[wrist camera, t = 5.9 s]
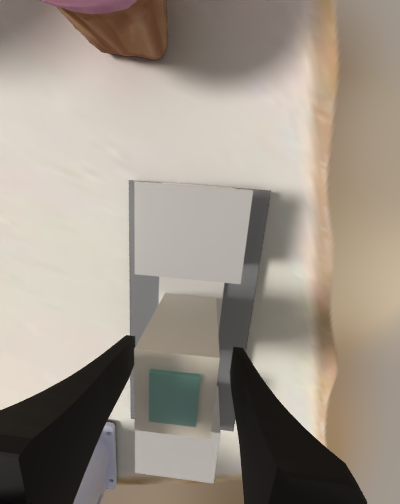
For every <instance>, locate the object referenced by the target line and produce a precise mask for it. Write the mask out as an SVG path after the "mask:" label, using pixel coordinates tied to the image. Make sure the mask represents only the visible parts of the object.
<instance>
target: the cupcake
mask: <svg viewBox="0 0 400 504" xmlns="http://www.w3.org/2000/svg"><path fill="white" fill-rule="evenodd" d="M41 1H43V2H45V3H47V4H50V5H53V6H56V7H57V8H58V9H59V10H60V11H61V13H62V14H63V15H64V16H65V17H66V18H67V19H68V20H69V21H70V22H71V23H72V24H73V26H74V27H75V28H76V29H77V30H78V31H79V32H80V33H81V34H82V35H83V36H84V37H85V38H86V39H87V40H88V41H89V42H90V43H91V44H92V45H94V46H95V47H96V48H97V49H99V50H100V51H101V52H104V53H110V54H118V55H123V56H140V57H143V58H147V59H153V60H155V59H159V58H161V57H162V56H163V55H164V53H165V52H166V49H167V43H168V33H167V0H41Z"/></svg>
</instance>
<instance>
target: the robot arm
mask: <svg viewBox="0 0 400 504" xmlns="http://www.w3.org/2000/svg"><path fill="white" fill-rule="evenodd" d="M134 348H135V336H129V335H126V336H125V337H123V338H122V339H121V340H120V341H118V342H117V343H116V344H115V345H113V346H112V347H111V348H110V349H108V350H107V351H106V352H104V353H103V354H102V355H101V356H99V357H98V358H96V359H95V360H94V361H92V362H91V363H89V364H88V365H87V366H85V367H84V368H82V369H81V370H79V371H78V372H76V373H74V374H73V375H71V376H70V377H68V378H66V379H65V380H63V381H61V382H59V383H57V384H55V385H54V386H52V387H50V388H48V389H46V390H44V391H42V392H40V393H38V394H36V395H34V396H32V397H30V398H28V399H26V400H24V401H21V402H19V403H17V404H15V405H12V406H10V407H8V408H5V409H3V410H0V504H101V502H102V499H103V496H104V494H105V491H106V489H115V487H116V485H117V466H116V435H115V425H114V424H113V423H111V422H107V420H108V418H109V416H110V414H111V412H112V410H113V408H114V406H115V404H116V402H117V400H118V399H119V397H120V395H121V393H122V391H123V389H124V387H125V385H126V383H127V381H128V379H129V377H130V374H131V372H132V369H133V367H134ZM230 384H231V394H232V400H233V406H234V412H235V418H236V424H237V430H238V437H239V445H240V456H241V467H242V479H243V492H244V504H367V501H366V499H365V497H364V495H363V493H362V491H361V490H360V488H359V486H358V484H357V482H356V480H355V478H354V477H353V475H352V474H351V472H350V470H349V469H348V467H347V465H346V464H345V463H344V462H343V461H342V460H340V459H339V458H338V457H337V456H336V455H334V454H333V453H332V452H331V451H329V450H328V449H327V448H326V447H325V446H324V445H323V444H321V443H320V442H319V441H318V440H317V439H316V438H315V437H314V436H313V435H312V434H310V433H309V432H308V431H307V430H306V429H305V428H304V427H303V426H302V425H301V424H300V423H299V422H298V421H297V420H296V419H295V418H294V417H293V416H292V415H291V414H290V413H289V412H288V410H287V409H286V408H285V407H284V406H283V405H282V404H281V402H280V401H279V400H278V399H277V398H276V396H275V395H274V394H273V393H272V391H271V390H270V389H269V387H268V386H267V385H266V383H265V382H264V380H263V379H262V378H261V376H260V375H259V373H258V372H257V370H256V369H255V367H254V365H253V364H252V362H251V361H250V359H249V357H248V356H247V354H246V352H245V350H244V349H243V348H241V347H233V353H232V360H231V367H230Z"/></svg>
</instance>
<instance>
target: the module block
mask: <svg viewBox="0 0 400 504" xmlns="http://www.w3.org/2000/svg"><path fill="white" fill-rule="evenodd" d="M219 361H220V353H219V337H218V321H217V304H216V298H212V297H201V296H191V295H180V294H169V293H165V294H164V296H163V298H162V300H161V301H160V303H159V305H158V307H157V309H156V310H155V312H154V314H153V316H152V318H151V320H150V321H149V323H148V325H147V327H146V329H145V330H144V332H143V334H142V336H141V338H140V339H139V341H138V343H137V345H136V347H135V348H134V390H135V430H138V431H146V432H154V433H162V434H170V435H179V436H187V437H195V438H203V439H211V430H212V422H213V413H214V404H215V396H216V387H217V378H218V369H219Z"/></svg>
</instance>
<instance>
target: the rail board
mask: <svg viewBox="0 0 400 504" xmlns="http://www.w3.org/2000/svg"><path fill="white" fill-rule="evenodd" d="M270 193H271V191H267V190H253V189H240V188H235V187H223V186H210V185H196V184H183V183H170V182H162V183H160V182H146V181H133V180H129V261H130V336H135V347H136V345H137V343H138V341H139V339H140V338H141V336H142V334H143V332H144V330H145V329H146V327H147V325H148V323H149V321H150V320H151V318H152V316H153V314H154V312H155V310H156V309H157V307H158V305H159V303H160V301H161V300H162V298H163V296H164V294H165V293H169V294H180V295H191V296H201V297H212V298H216V304H217V321H218V337H219V353H220V361H219V369H218V378H217V387H216V396H215V404H214V413H213V422H212V430H211V439H203V438H195V437H187V436H179V435H170V434H162V433H154V432H146V431H138V430H135V473H139V474H147V475H154V476H162V477H169V478H176V479H184V480H191V481H198V482H206V483H214V477H215V469H216V462H217V455H218V447H219V440H220V430H227V431H233V430H234V424H235V412H234V406H233V400H232V394H231V384H230V367H231V360H232V353H233V347H241V348H243V349H244V350H245V352H246V347H247V340H248V334H249V328H250V321H251V315H252V308H253V302H254V295H255V289H256V283H257V276H258V270H259V263H260V257H261V250H262V244H263V238H264V231H265V225H266V218H267V212H268V206H269V199H270ZM130 386H131V419H135V390H134V367H133V369H132V372H131V374H130Z"/></svg>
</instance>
